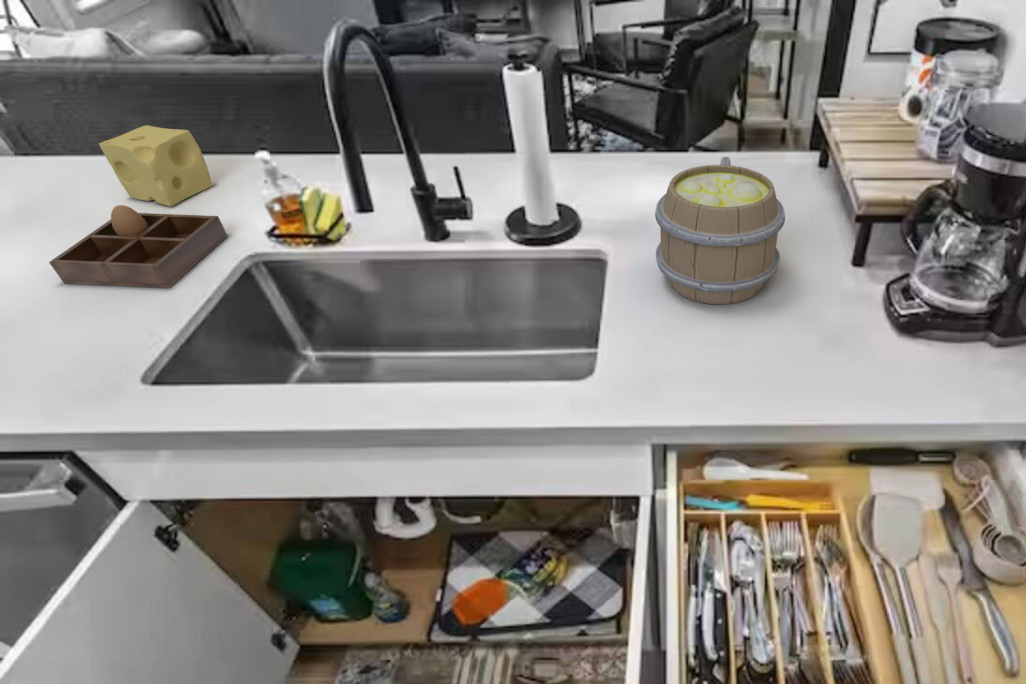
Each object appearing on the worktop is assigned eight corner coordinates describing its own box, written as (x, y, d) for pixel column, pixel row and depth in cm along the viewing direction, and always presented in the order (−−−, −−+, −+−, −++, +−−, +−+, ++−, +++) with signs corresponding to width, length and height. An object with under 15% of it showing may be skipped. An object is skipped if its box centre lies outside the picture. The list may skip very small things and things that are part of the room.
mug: (776, 236, 113) (787, 145, 103) (776, 317, 96) (790, 217, 86) (667, 229, 115) (667, 139, 104) (648, 308, 97) (646, 209, 87)
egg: (146, 248, 107) (124, 212, 102) (117, 248, 107) (95, 212, 102) (161, 235, 110) (140, 199, 106) (133, 235, 110) (112, 199, 106)
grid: (64, 283, 100) (48, 262, 98) (133, 232, 112) (121, 212, 109) (169, 288, 100) (156, 266, 97) (228, 236, 111) (217, 215, 109)
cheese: (172, 208, 119) (141, 150, 112) (126, 198, 121) (92, 142, 114) (218, 185, 126) (191, 129, 119) (173, 176, 128) (145, 121, 121)
